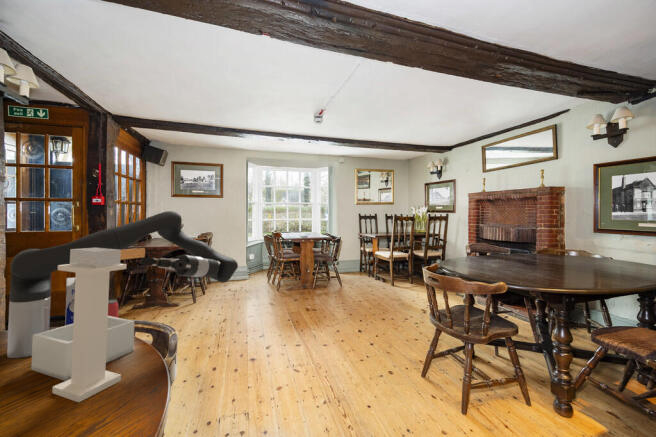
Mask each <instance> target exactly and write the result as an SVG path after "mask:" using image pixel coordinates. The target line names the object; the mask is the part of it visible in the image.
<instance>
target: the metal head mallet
mask: <svg viewBox="0 0 656 437" xmlns="http://www.w3.org/2000/svg"><path fill="white" fill-rule="evenodd" d="M142 257H145V258H146V248H144V247H143V248H141V247H136V248H135V247H134V248H126V249H122V250H118V249H106V248H82V249H70V265H77V266H85V267H94V268H98V267H105V266H113V265H120V264H121V261H122V260H123V261H124V260H130V259H139V258H140V259H141V258H142Z"/></svg>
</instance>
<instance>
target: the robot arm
mask: <svg viewBox="0 0 656 437" xmlns="http://www.w3.org/2000/svg"><path fill="white" fill-rule="evenodd" d="M182 222H183V219H182V216H181V214H180V213H178V212H177V211H171V210H169V211H168V210H167V211H163V212H159V213H157V214H154V215H151V216H149V217H146V218H143V219H140V220H136V221H132V222H129V223H125V224H122V225H119V226H115V227H110V228H107V229H103V230H99V231H96V232H93V233H90V234H87V235H85V236H83V237H80V238H78V239H75V240H73V241H71V242H68V243H64V244H60V245H56V246H52V247H51V246H50V247H47V248H41V249H39V248H28V249H25V250H24V249H23V250H22V251H20V252H18V253H17V254H16V255H15V256H14V257H13V258H12V260H11V263H10V270H11V271H10V286H9V287H10V288H9V289H10V290H9V304H8V326H7V327H8V329H7V331H8V332H7V352H6V357H7V358H9V359H20V358H26V357H32V343H33V335H34V334H38V333H41V332H45V331H48V330H50V324H51V323H50V322H51V320H50V319H51V300H52V299H51V298H52V273H54V272H57V271H59V270H58V265H65V264H70V249H82V248H106V249H118V250H122V249H129V248H130V247H131V246H132V245H134V244H135V243H137V242H139V241H140V240H141V239H143V238H145V237H146V236H148V235H150V234H154V233H157V234H158V236H160V237H161V238H163V239H165V241H166V240H167V241H168V242H169V243H171V244H173V245H175V246H177V247H179V248H181V249H183V250H184V251H186V252H187V253H189V254H190V255H189V254H181V255H180V256H178V258H174V257H173V258H172V257H171V258H170V257H169V258H166V257H160V258H156V257H146V256H145V257H141V258H140V261H139V264H140V265H146V266H147V265H148V266H151V267H153V266H155V267H158V268H159V269H167V270H170V271H174V272H175V274H176V275H177V276H179V277H191V278H210V279H212V280H214V281H217V282H220V283H227V282H228V281H229V280H230V279H231V278H232V277H233V275H234V273H235V272H236V271H237V269H238V267H239V264H238V262H237V260H235V259H234V258H232V257H231V256H230V257H229V256H226V255H225V254H222V253H221V252H218V251H217V250H215V248H213V247H211V246H210V245H208V243H206V242H204V241H202V240H198V239H194V238H192V237H190V236H188V235H187V234H186V233H185V232H184V231H183V230H182V224H183V223H182Z"/></svg>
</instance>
